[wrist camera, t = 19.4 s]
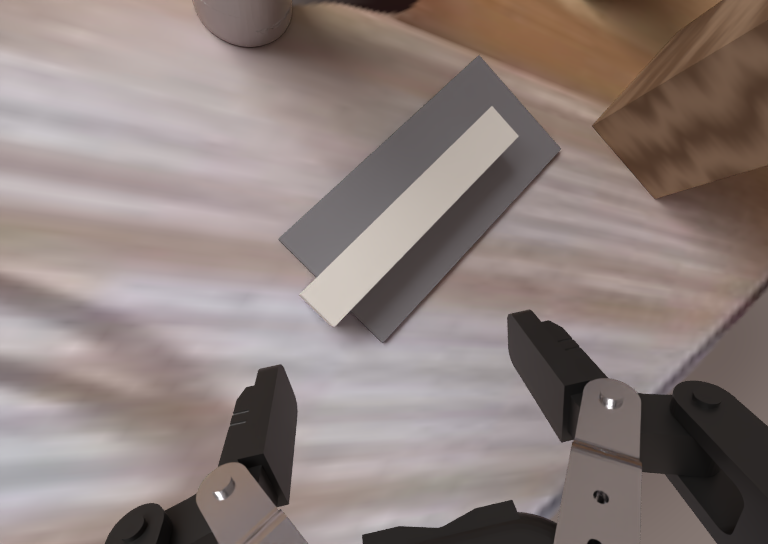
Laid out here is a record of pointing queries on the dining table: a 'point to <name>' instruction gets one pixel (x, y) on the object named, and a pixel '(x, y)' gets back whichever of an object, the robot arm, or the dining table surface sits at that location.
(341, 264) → the bar
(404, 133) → the mat
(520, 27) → the dining table surface
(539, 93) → the dining table surface
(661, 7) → the dining table surface
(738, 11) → the brown wooden box
